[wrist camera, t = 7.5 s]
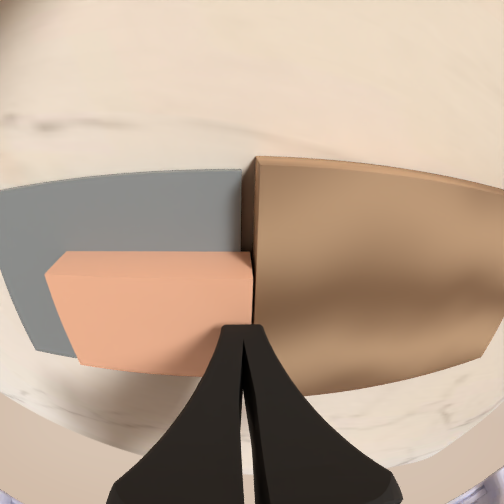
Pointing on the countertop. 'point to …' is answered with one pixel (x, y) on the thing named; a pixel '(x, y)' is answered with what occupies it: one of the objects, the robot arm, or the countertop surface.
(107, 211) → the mat
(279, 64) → the countertop surface
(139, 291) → the tile
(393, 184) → the board
